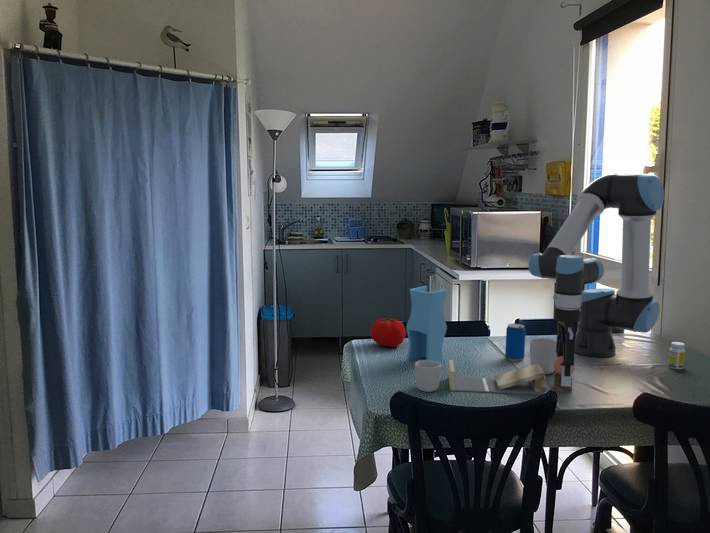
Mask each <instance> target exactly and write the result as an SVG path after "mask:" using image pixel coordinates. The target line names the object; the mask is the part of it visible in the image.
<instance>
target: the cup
mask: <svg viewBox="0 0 710 533" xmlns="http://www.w3.org/2000/svg"><path fill="white" fill-rule="evenodd" d="M441 371H442V362H440V363H439V362H437V361H432V360H426V359H422V360H417V361H415V362H414V374H415V375H414V376H415V384H416V388H417V390H419V391H420V392H425V393H432V392H435V391H437V390H438V389H439V385H440V378H441Z"/></svg>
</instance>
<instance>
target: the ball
mask: <svg viewBox="0 0 710 533" xmlns="http://www.w3.org/2000/svg"><path fill="white" fill-rule="evenodd" d="M561 363H563V356H560V357H558V358H557V359H556V360H555V362H554V369H555V370H554V372H555V373H558V374H559V375H561V373H562V365H561ZM575 367H576V366H575V363H574V365H572V373H571V375H572V374H573V372H574V371H575Z"/></svg>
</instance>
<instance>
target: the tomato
mask: <svg viewBox="0 0 710 533" xmlns="http://www.w3.org/2000/svg"><path fill="white" fill-rule="evenodd" d="M406 334H407V330H406V328H405V325H404V324H403V322H402V321H400V320H398V319H396V318H390V317H387V318H379V319H377V320H376V321H375V322H374V323H373V324H372V326H371V328H370V337H371V339H372V340H373V341H374V342H375V343H376V344H378V345H380V346H383V347H391V348H394V347H398V346H399V345H401V344H403V342H404V340H405V338H406Z"/></svg>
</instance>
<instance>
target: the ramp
mask: <svg viewBox="0 0 710 533" xmlns="http://www.w3.org/2000/svg"><path fill="white" fill-rule="evenodd" d="M494 379H496V382H497V385H498V388H499V390H501V389H504V388H507V387H511V386H514V385H518V384H521V383H524V382H528V381H530V383H531V385H532V387H533V389H534V391H535V392H545V386H546V383H547V378H546V374H544V372H543V370H542V368H541V367H540V365H539V363H538V364H535V365H532V366H531V365H529V366H528V365H527V366H526V367H522V368H519V369H515V370H513V371H512V370H511V371H508V372H505V373H503V374H499V375H496V376H494Z"/></svg>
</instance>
